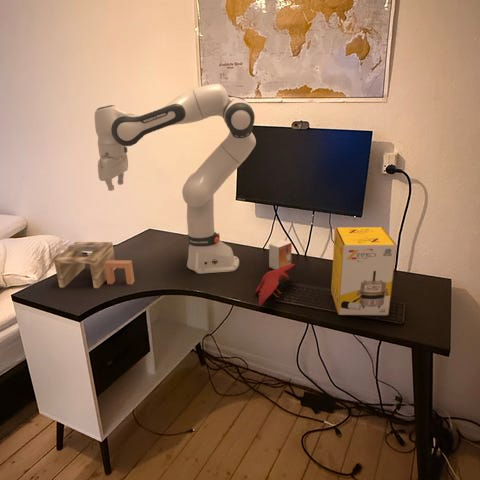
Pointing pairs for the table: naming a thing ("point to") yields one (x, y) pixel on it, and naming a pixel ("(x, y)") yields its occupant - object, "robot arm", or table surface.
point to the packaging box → (362, 270)
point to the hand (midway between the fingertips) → (116, 187)
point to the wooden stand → (74, 261)
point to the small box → (280, 254)
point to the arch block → (119, 264)
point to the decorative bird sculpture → (271, 282)
